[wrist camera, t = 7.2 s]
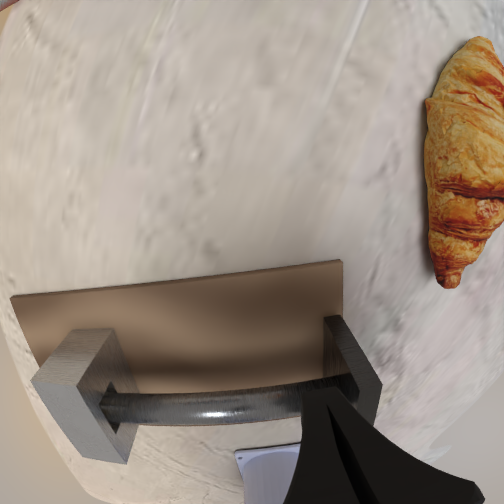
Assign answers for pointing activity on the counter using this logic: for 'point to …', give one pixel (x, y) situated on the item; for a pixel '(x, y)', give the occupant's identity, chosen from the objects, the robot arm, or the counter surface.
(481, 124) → the croissant
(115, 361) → the bearing block
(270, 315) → the board
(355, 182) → the counter surface
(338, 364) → the shaft
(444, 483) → the robot arm
